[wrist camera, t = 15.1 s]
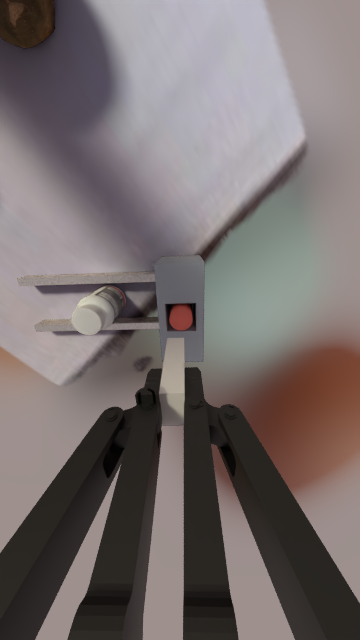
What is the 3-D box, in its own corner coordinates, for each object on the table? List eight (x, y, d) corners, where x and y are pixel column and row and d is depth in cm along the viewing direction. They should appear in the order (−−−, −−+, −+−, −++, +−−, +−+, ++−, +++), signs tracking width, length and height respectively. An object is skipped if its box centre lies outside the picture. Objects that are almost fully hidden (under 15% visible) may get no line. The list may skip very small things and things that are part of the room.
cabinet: (167, 333, 37) (162, 362, 29) (162, 256, 31) (153, 263, 23) (199, 333, 37) (203, 361, 28) (199, 255, 31) (204, 262, 23)
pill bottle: (103, 316, 36) (75, 343, 27) (91, 287, 34) (57, 307, 25) (130, 310, 35) (112, 336, 26) (121, 281, 33) (97, 298, 24)
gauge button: (172, 315, 31) (170, 330, 26) (171, 296, 30) (168, 309, 24) (191, 314, 31) (192, 330, 26) (191, 296, 29) (192, 308, 24)
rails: (45, 325, 37) (36, 331, 35) (28, 275, 33) (16, 278, 31) (166, 322, 36) (165, 328, 34) (163, 271, 32) (161, 273, 30)
